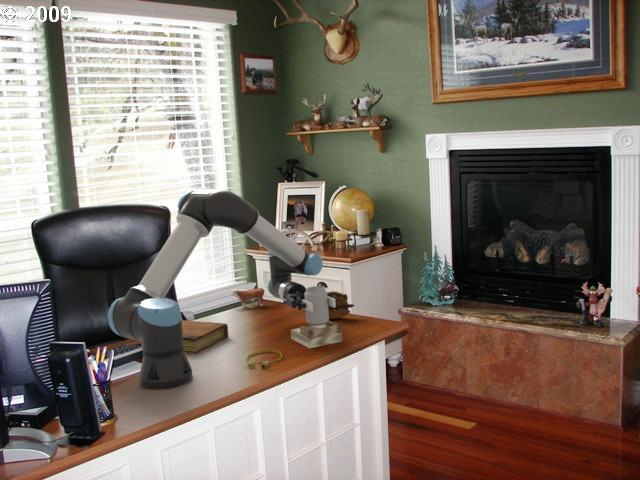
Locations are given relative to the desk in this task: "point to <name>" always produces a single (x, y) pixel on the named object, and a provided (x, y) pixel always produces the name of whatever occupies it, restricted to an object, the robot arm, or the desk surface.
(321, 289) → the can
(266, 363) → the torc
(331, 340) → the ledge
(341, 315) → the wooden carving
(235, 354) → the desk surface
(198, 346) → the diary
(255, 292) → the bull figurine
